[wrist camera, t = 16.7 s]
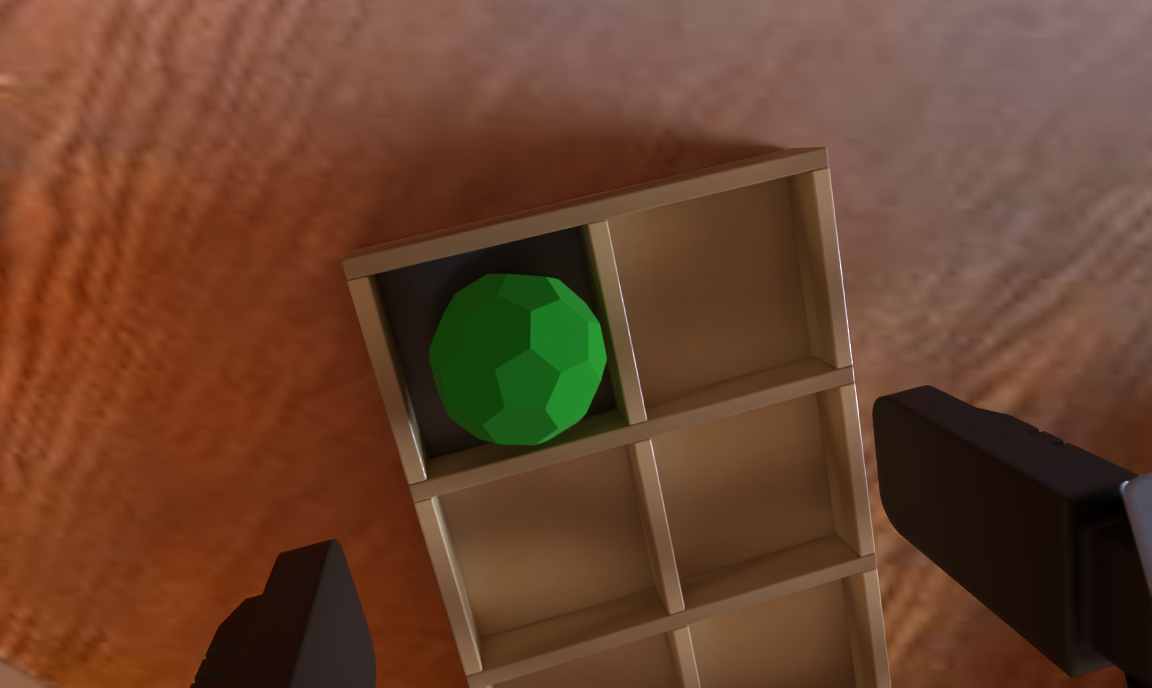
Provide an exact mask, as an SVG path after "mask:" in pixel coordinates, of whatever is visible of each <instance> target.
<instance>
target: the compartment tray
mask: <svg viewBox="0 0 1152 688" xmlns="http://www.w3.org/2000/svg"><path fill="white" fill-rule="evenodd" d="M828 166H829V160H828V152H827V148H826V147H810V148H789V149H785V150H781V151H776V152H772V153H768V154H763V155H759V156H755V157H750V158H746V159H742V160H738V161H733V162H729V163H725V164H720V165H716V166H712V167H707V168H703V169H699V170H694V171H690V172H686V173H682V174H677V175H673V176H669V177H664V178H660V179H656V180H651V181H647V182H643V183H639V184H634V185H630V186H626V187H621V188H617V189H613V190H608V191H604V192H600V193H595V194H591V195H587V196H583V197H578V198H574V199H570V200H565V201H561V202H557V203H552V204H548V205H544V206H540V207H535V208H531V209H527V210H522V211H518V212H514V213H509V214H505V215H501V216H496V217H492V218H488V219H484V220H479V221H475V222H471V223H466V224H462V225H458V226H453V227H449V228H445V229H441V230H436V231H432V232H428V233H423V234H419V235H415V236H410V237H406V238H402V239H397V240H393V241H389V242H385V243H380V244H376V245H372V246H367V247H363V248H359V249H354V250H351V251H350V252H349V253H348V254H347V255H346V256H345V257H344V258H343V259H342V261H341V264H342V267H343V270H344V274H345V277H346V279H347V280H348V283H347V284H348V287H349V290H350V294H351V297H352V300H353V304H354V307H355V310H356V314H357V317H358V320H359V324H360V327H361V330H362V334H363V337H364V340H365V344H366V347H367V350H368V354H369V357H370V360H371V364H372V367H373V370H374V374H375V377H376V380H377V384H378V387H379V390H380V394H381V397H382V400H383V404H384V407H385V410H386V414H387V417H388V420H389V424H390V427H391V430H392V434H393V437H394V440H395V444H396V447H397V450H398V454H399V457H400V460H401V464H402V467H403V470H404V474H405V477H406V480H407V483H408V484H409V490H410V494H411V497H412V500H413V501H414V507H415V510H416V514H417V517H418V520H419V524H420V527H421V530H422V534H423V537H424V540H425V544H426V547H427V550H428V554H429V557H430V560H431V564H432V567H433V570H434V574H435V577H436V580H437V584H438V587H439V590H440V594H441V597H442V600H443V604H444V607H445V610H446V614H447V617H448V620H449V624H450V627H451V630H452V634H453V637H454V640H455V644H456V647H457V650H458V654H459V657H460V660H461V664H462V667H463V670H464V674H465V675H466V680H467V684H468V687H469V688H891V681H890V672H889V664H888V655H887V647H886V639H885V630H884V622H883V613H882V605H881V597H880V588H879V580H878V572H877V568H876V567H877V562H876V554H875V553H874V552H875V546H874V538H873V530H872V521H871V513H870V504H869V496H868V488H867V479H866V471H865V462H864V454H863V446H862V437H861V429H860V421H859V412H858V404H857V395H856V387H855V383H854V381H855V379H854V370H853V366H852V364H853V362H852V353H851V345H850V337H849V328H848V320H847V311H846V303H845V295H844V286H843V278H842V269H841V261H840V253H839V244H838V236H837V228H836V219H835V211H834V202H833V194H832V186H831V177H830V169H829V167H828ZM486 274H516V275H529V276H542V277H549V278H554V279H559V280H560V281H561V282H562V283H563V284H564V285H566V286H567V287H568V288H569V289H570V290H571V291H573V292H574V293H575V294H576V295H577V296H578V297H579V298H581V299H582V300H583V301H584V302H585V303H586V304H587V306H588V307H589V309H590V310H591V311H592V313H593V314H594V316H595V317H596V319H597V320H598V321H599V323H600V327H601V331H602V336H603V341H604V346H605V350H606V355H607V360H606V364H605V368H604V371H603V375H602V379H601V382H600V384H599V386H598V388H597V391H596V393H595V395H594V397H593V400H592V402H591V404H590V406H589V409H588V411H587V413H586V414H585V415H584V416H583V417H582V419H581V420H580V421H579V422H577V423H576V424H574V425H572V426H571V427H569V428H568V429H566V430H564V431H563V432H561V433H559V434H558V435H556V436H555V437H553V438H551V439H550V440H548V441H545V442H543V443H540V444H537V445H534V446H532V445H503V444H495V443H492V442H488V441H485V440H481V439H478V438H476V437H475V436H473V435H472V434H471V433H469V432H468V431H467V430H466V429H464V428H463V427H462V426H460V425H459V424H458V423H456V422H455V421H454V420H452V419H451V418H450V417H448V414H447V412H446V410H445V407H444V405H443V403H442V400H441V398H440V396H439V393H438V390H437V387H436V383H435V379H434V376H433V372H432V369H431V365H430V361H429V348H430V346H431V343H432V341H433V338H434V336H435V333H436V331H437V328H438V326H439V324H440V321H441V319H442V316H443V314H444V312H445V310H446V308H447V307H448V305H449V303H450V302H451V300H452V298H453V297H454V295H455V293H457V292H459V291H460V290H462V289H464V288H465V287H467V286H468V285H470V284H472V283H473V282H475V281H477V280H478V279H480V278H482V277H483V276H485V275H486Z"/></svg>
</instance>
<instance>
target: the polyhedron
mask: <svg viewBox="0 0 1152 688" xmlns="http://www.w3.org/2000/svg"><path fill="white" fill-rule="evenodd" d="M606 360H607V355H606V350H605V346H604V341H603V336H602V331H601V327H600V323H599V321H598V320H597V319H596V317H595V316H594V314H593V313H592V311H591V310H590V309H589V307H588V306H587V304H586V303H585V302H584V301H583V300H582V299H581V298H579V297H578V296H577V295H576V294H575V293H574V292H573V291H571V290H570V289H569V288H568V287H567V286H566V285H564V284H563V283H562V282H561V281H560V280H559V279H554V278H549V277H542V276H529V275H516V274H486V275H485V276H483V277H482V278H480V279H478V280H477V281H475V282H473V283H472V284H470V285H468V286H467V287H465V288H464V289H462V290H460V291H459V292H457V293H455V295H454V297H453V298H452V300H451V302H450V303H449V305H448V307H447V308H446V310H445V312H444V314H443V316H442V319H441V321H440V324H439V326H438V328H437V331H436V333H435V336H434V338H433V341H432V343H431V346H430V348H429V361H430V365H431V369H432V372H433V376H434V379H435V383H436V387H437V390H438V393H439V396H440V398H441V400H442V403H443V405H444V407H445V410H446V412H447V414H448V417H450V418H451V419H452V420H454V421H455V422H456V423H458V424H459V425H460V426H462V427H463V428H464V429H466V430H467V431H468V432H469V433H471V434H472V435H473V436H475V437H476V438H478V439H481V440H485V441H488V442H492V443H495V444H503V445H532V446H534V445H537V444H540V443H543V442H545V441H548V440H550V439H551V438H553V437H555V436H556V435H558V434H559V433H561V432H563V431H564V430H566V429H568V428H569V427H571V426H572V425H574V424H576V423H577V422H579V421H580V420H581V419H582V417H583V416H584V415H585V414H586V413H587V411H588V409H589V406H590V404H591V402H592V400H593V397H594V395H595V393H596V391H597V388H598V386H599V384H600V382H601V379H602V375H603V371H604V368H605V364H606Z"/></svg>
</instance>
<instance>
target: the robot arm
mask: <svg viewBox="0 0 1152 688" xmlns="http://www.w3.org/2000/svg"><path fill="white" fill-rule="evenodd" d="M872 416H873V428H874V438H875V448H876V459H877V469H878V479H879V489H880V496H881V501H882V504H883V507H884V510H885V512H886V514H887V516H888V518H889V520H890V522H891V524H892V525H893V526H894V528H895V529H896V530H897V531H898V532H899V533H900V534H901V535H902V536H903V537H904V538H905V539H907V540H908V541H909V542H910V543H911V544H912V545H914V546H915V547H916V548H917V549H918V550H920V551H921V552H922V553H923V554H924V555H926V556H927V557H928V558H929V559H930V560H932V561H933V562H934V563H935V564H936V565H937V566H939V567H940V568H941V569H942V570H943V571H945V572H946V573H947V574H948V575H949V576H951V577H952V578H953V579H954V580H955V581H957V582H958V583H959V584H960V585H961V586H962V587H964V588H965V589H966V590H967V591H968V592H970V593H971V594H972V595H973V596H974V597H976V598H977V599H978V600H979V601H980V602H982V603H983V604H984V605H985V606H986V607H987V608H989V609H990V610H991V611H992V612H993V613H995V614H996V615H997V616H998V617H999V618H1001V619H1002V620H1003V621H1004V622H1005V623H1007V624H1008V625H1009V626H1010V627H1011V628H1012V629H1014V630H1015V631H1016V632H1017V633H1018V634H1020V635H1021V636H1022V637H1023V638H1024V639H1026V640H1027V641H1028V642H1029V643H1030V644H1032V645H1033V646H1034V647H1035V648H1036V649H1037V650H1039V651H1040V652H1041V653H1042V654H1043V655H1045V656H1046V657H1047V658H1048V659H1049V660H1051V661H1052V662H1053V663H1054V664H1055V665H1057V666H1058V667H1059V668H1060V669H1061V670H1062V671H1064V672H1065V673H1066V674H1067V675H1068V676H1070V677H1071V678H1073V677H1076V676H1079V675H1082V674H1086V673H1089V672H1092V671H1095V670H1098V669H1101V668H1105V667H1108V666H1111V665H1116V666H1117V667H1118V668H1120V669H1121V670H1122V688H1152V472H1150V473H1146V474H1143V475H1140V476H1139V475H1137V474H1134V473H1132V472H1130V471H1128V470H1126V469H1124V468H1122V467H1120V466H1117V465H1115V464H1113V463H1111V462H1109V461H1107V460H1105V459H1102V458H1100V457H1098V456H1096V455H1094V454H1092V453H1090V452H1087V451H1085V450H1083V449H1081V448H1079V447H1077V446H1075V445H1072V444H1070V443H1066V444H1064V443H1063V440H1062V439H1060V438H1058V437H1055V436H1053V435H1051V434H1049V433H1047V432H1045V431H1043V432H1039V430H1038V428H1036V427H1034V426H1032V425H1030V424H1028V423H1025V422H1023V421H1021V420H1019V419H1017V418H1015V417H1013V416H1010V415H1008V414H1003V413H999V412H994V411H989V410H985V409H980V408H976V407H974V406H972V405H969V404H967V403H965V402H963V401H961V400H959V399H957V398H955V397H953V396H951V395H949V394H947V393H945V392H943V391H940V390H938V389H936V388H934V387H932V386H929V385H925V386H921V387H917V388H913V389H909V390H905V391H902V392H898V393H894V394H890V395H886V396H882V397H879V398H878V399H877V400H876V401H875V403H874V405H873V412H872ZM375 684H376V663H375V654H374V648H373V643H372V639H371V635H370V632H369V628H368V625H367V622H366V619H365V616H364V613H363V610H362V607H361V604H360V601H359V597H358V594H357V591H356V588H355V585H354V582H353V579H352V576H351V573H350V570H349V567H348V564H347V560H346V557H345V555H344V552H343V550H342V547H341V545H340V544H339V542H338V541H337V540H336V539H332V540H328V541H324V542H320V543H316V544H313V545H309V546H305V547H301V548H297V549H294V550H290V551H286V552H282V553H280V554H279V555H278V557H277V559H276V562H275V564H274V566H273V569H272V571H271V574H270V576H269V579H268V581H267V584H266V586H265V589H264V591H263V594H262V595H259V596H255V597H251V598H247V599H245V600H244V601H243V602H242V603H241V604H240V605H239V606H238V607H237V608H236V609H235V610H234V611H233V612H232V613H231V615H230V616H229V617H228V618H227V619H226V620H225V621H224V622H223V623H222V624H221V625H220V626H219V627H218V629H217V631H216V633H215V636H214V638H213V640H212V642H211V644H210V646H209V648H208V650H207V653H206V659H205V660H203V661H202V663H201V665H200V667H199V670H198V672H197V674H196V676H195V683H194V684H191V687H190V688H375Z"/></svg>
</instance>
